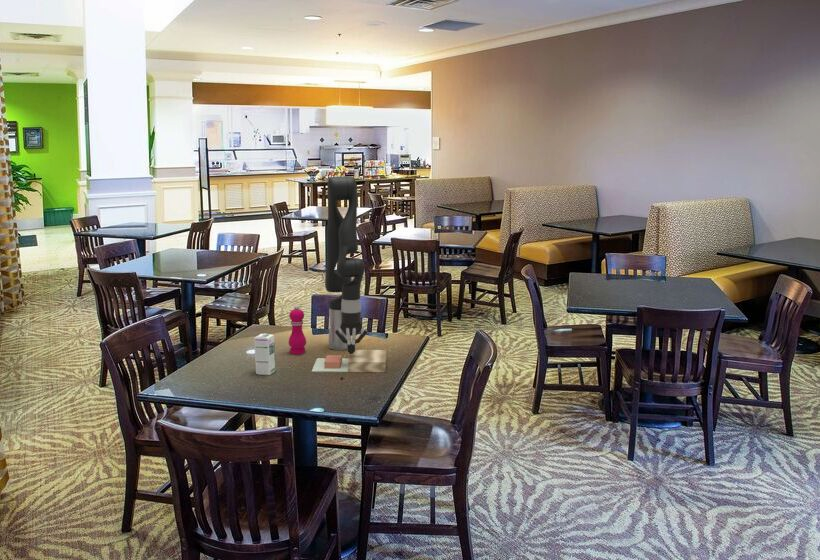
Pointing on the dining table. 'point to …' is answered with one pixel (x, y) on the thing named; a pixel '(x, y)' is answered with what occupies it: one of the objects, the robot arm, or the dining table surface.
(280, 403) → the dining table surface
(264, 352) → the syrup box
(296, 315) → the pepper mill
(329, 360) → the tile
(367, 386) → the dining table surface
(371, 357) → the board
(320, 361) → the mat
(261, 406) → the dining table surface
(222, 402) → the dining table surface
